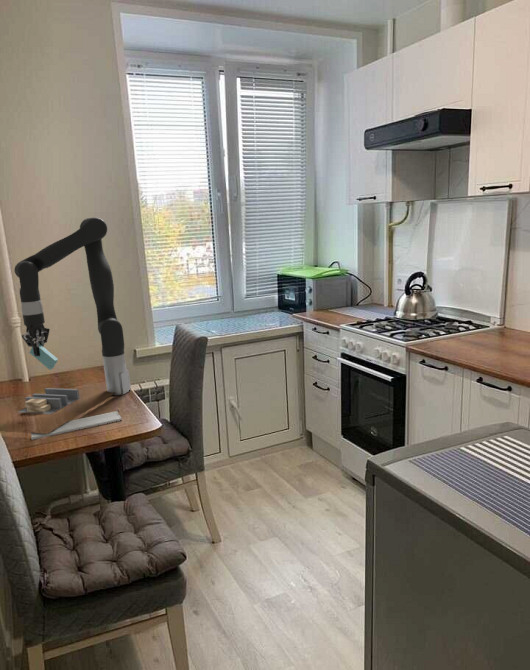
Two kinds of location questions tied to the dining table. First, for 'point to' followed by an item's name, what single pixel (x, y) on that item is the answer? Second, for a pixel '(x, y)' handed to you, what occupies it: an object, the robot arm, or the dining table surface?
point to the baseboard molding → (81, 424)
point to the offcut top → (35, 403)
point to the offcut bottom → (42, 409)
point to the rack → (55, 399)
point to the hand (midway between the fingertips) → (39, 355)
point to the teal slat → (45, 357)
